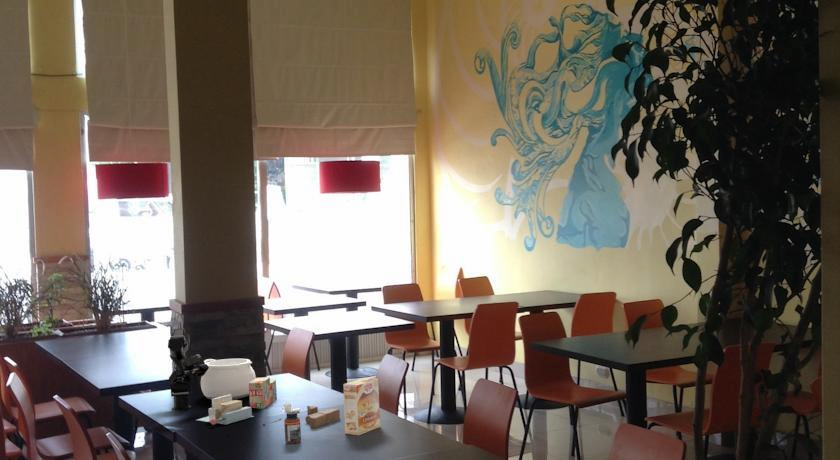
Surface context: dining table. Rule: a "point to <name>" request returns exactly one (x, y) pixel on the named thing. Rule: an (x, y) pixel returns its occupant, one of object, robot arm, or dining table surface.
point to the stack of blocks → (262, 392)
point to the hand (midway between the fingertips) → (198, 388)
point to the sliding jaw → (215, 410)
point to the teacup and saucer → (289, 408)
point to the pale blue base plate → (231, 416)
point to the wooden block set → (321, 416)
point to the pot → (227, 378)
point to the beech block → (229, 406)
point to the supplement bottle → (292, 428)
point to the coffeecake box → (361, 406)
